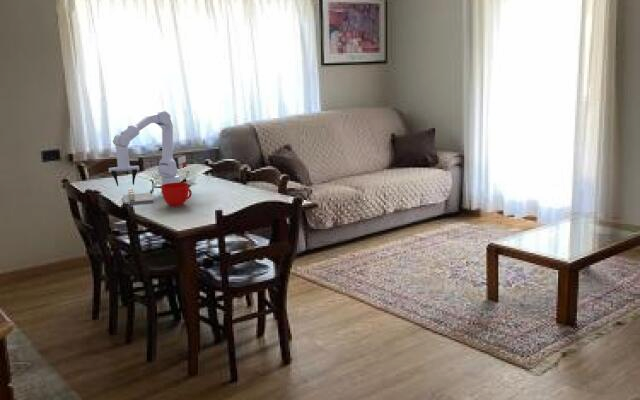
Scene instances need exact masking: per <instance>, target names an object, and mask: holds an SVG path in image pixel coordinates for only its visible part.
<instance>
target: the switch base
mask: <svg viewBox="0 0 640 400" xmlns="http://www.w3.org/2000/svg"><path fill="white" fill-rule="evenodd" d="M122 199H123V203H130V204H132V205H133V206H134V205H142V204H143V205H144V204H153V203H154V202H155V200H154V197H153V194H152V193H151V192H142V193H141V192H140V193H139V192H138V193H135V200H130V198H129V193H128V194H122ZM154 204H155V203H154ZM132 205H131V206H132Z"/></svg>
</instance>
